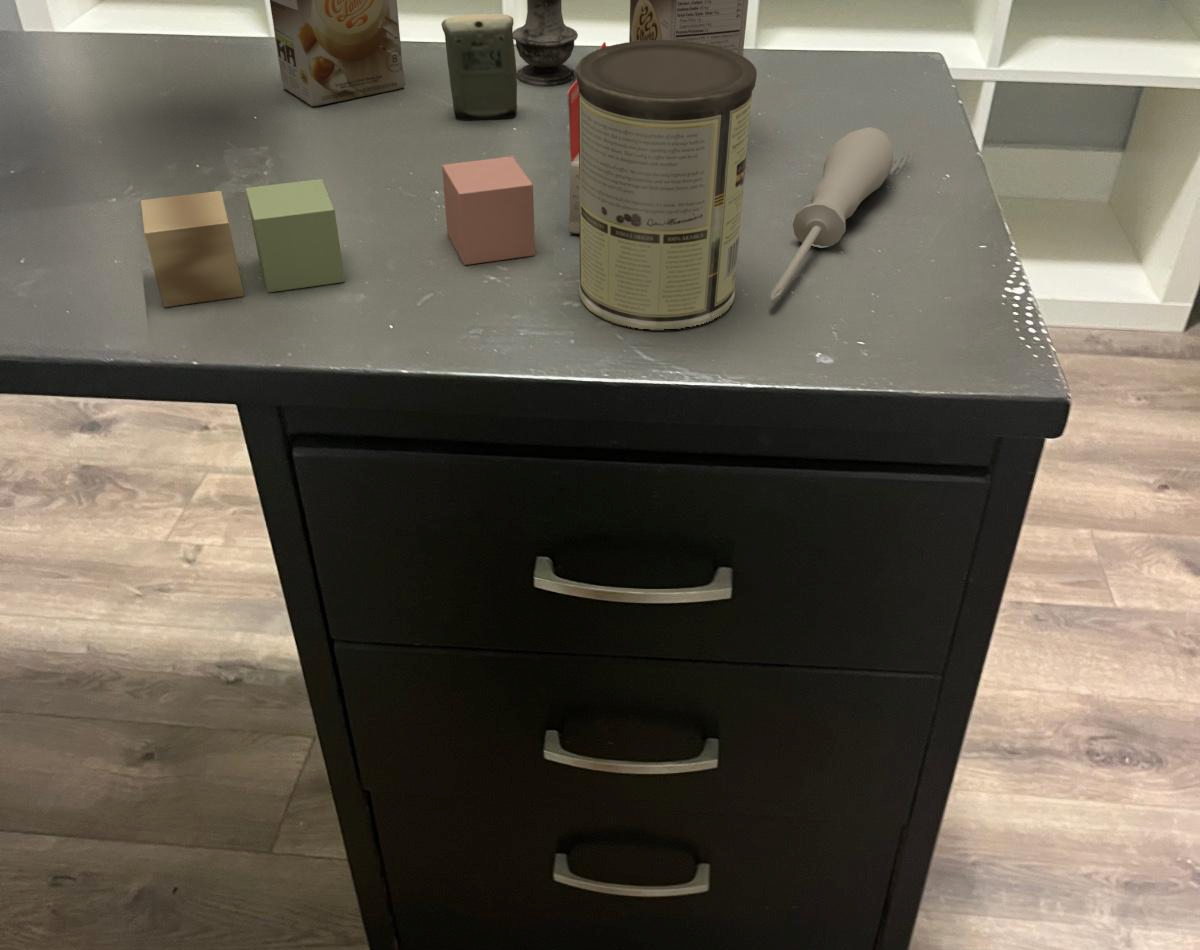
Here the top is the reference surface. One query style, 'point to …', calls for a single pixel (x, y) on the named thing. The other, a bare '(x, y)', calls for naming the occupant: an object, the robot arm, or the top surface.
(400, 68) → the coffee box
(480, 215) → the row block
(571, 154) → the ink cartridge box
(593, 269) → the coffee can
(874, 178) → the screwdriver
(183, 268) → the row block
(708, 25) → the coffee box
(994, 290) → the top surface
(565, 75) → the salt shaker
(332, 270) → the row block
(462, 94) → the grey upright labelled block
